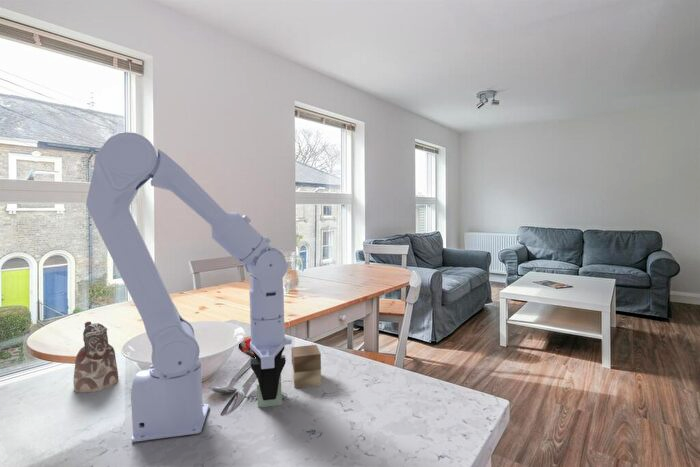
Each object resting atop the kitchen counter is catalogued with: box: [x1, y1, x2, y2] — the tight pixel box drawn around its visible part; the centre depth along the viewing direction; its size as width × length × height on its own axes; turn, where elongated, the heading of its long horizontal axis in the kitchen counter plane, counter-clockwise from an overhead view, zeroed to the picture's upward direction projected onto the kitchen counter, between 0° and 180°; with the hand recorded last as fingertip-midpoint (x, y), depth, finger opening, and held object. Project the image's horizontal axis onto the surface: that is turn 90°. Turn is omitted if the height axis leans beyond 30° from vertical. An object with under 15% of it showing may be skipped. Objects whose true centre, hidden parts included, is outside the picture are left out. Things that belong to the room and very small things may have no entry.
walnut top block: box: [291, 344, 322, 373], centre depth 72 cm, size 5×5×3 cm
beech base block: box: [292, 368, 322, 389], centre depth 72 cm, size 5×5×3 cm
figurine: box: [72, 321, 119, 393], centre depth 72 cm, size 7×7×12 cm
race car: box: [237, 335, 256, 357], centre depth 87 cm, size 13×5×4 cm, turn 40°
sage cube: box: [256, 374, 283, 408], centre depth 65 cm, size 4×4×4 cm
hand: (269, 392), depth 65 cm, fingers open, 4 cm apart
